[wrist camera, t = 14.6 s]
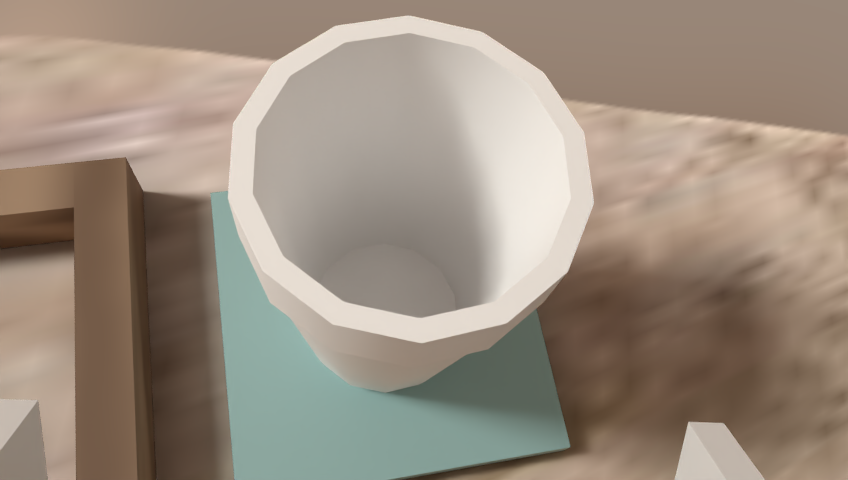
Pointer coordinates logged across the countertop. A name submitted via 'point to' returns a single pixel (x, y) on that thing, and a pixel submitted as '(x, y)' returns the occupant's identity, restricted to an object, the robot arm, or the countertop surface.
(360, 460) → the mat
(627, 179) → the countertop surface
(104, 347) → the brown flat square frame
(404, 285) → the foam cup
